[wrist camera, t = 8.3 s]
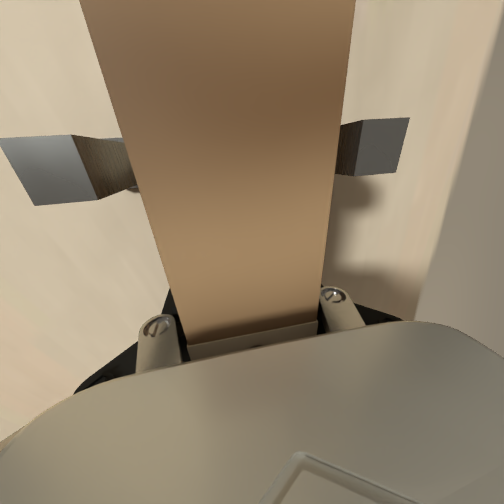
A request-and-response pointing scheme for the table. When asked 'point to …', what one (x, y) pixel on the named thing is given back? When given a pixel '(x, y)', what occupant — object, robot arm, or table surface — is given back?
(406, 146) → the table surface
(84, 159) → the gray u-shaped bracket
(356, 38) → the table surface
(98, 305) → the table surface
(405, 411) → the robot arm
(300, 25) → the tan plank with band
